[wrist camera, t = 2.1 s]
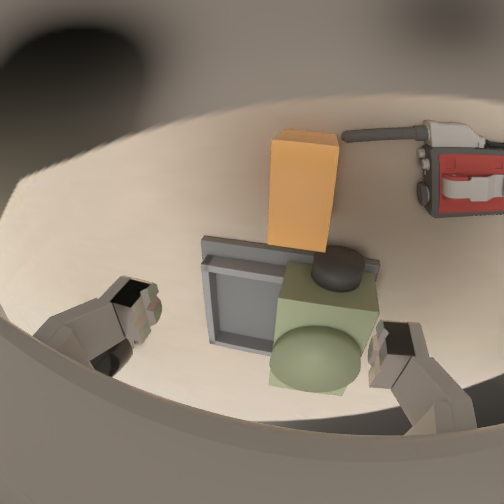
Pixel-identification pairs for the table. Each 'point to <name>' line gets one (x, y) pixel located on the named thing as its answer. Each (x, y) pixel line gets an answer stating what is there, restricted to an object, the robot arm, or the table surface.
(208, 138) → the table surface
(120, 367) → the pump dispenser
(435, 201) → the walkie-talkie
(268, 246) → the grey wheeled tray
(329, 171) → the orange cardboard box
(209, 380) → the table surface
